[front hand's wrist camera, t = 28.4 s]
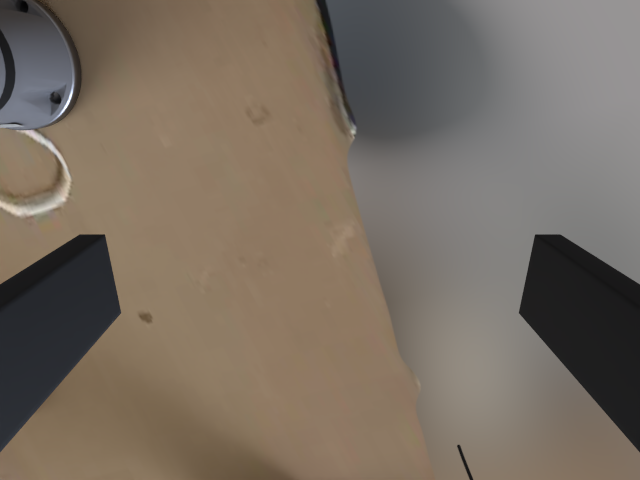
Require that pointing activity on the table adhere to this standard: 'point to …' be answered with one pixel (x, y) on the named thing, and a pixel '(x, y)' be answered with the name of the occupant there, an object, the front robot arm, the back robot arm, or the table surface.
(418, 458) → the table surface
